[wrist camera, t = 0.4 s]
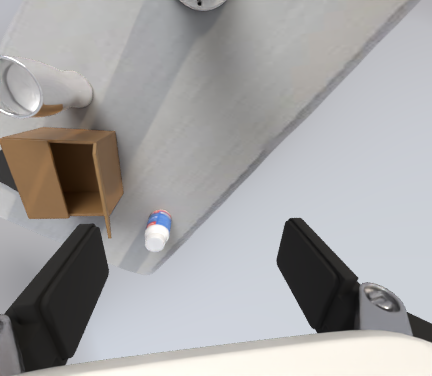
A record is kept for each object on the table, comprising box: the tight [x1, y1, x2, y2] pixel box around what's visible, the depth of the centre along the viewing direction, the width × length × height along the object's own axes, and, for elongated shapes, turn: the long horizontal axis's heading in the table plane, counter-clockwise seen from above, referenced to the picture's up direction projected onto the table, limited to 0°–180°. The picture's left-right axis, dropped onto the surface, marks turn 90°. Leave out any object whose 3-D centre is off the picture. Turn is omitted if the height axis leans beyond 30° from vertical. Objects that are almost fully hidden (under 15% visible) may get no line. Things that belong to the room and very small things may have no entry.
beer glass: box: [0, 55, 93, 118], centre depth 30 cm, size 7×7×15 cm
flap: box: [93, 143, 111, 238], centre depth 32 cm, size 6×14×1 cm
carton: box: [0, 127, 123, 219], centre depth 37 cm, size 13×14×10 cm
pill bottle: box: [144, 210, 171, 252], centre depth 46 cm, size 6×5×10 cm
